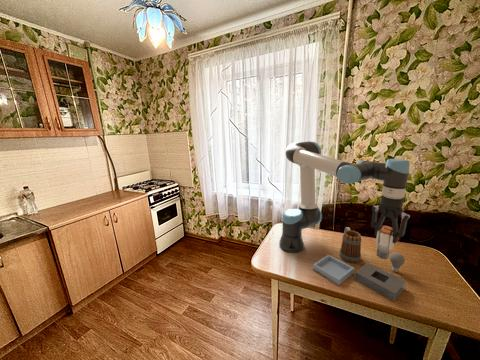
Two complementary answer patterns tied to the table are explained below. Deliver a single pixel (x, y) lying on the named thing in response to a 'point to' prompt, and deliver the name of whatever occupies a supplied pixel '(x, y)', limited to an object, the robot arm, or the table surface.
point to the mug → (351, 246)
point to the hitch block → (380, 281)
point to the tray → (333, 269)
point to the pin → (384, 242)
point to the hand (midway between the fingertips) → (384, 245)
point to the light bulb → (396, 261)
